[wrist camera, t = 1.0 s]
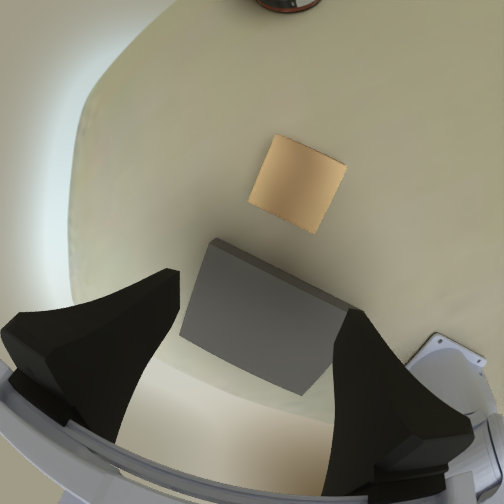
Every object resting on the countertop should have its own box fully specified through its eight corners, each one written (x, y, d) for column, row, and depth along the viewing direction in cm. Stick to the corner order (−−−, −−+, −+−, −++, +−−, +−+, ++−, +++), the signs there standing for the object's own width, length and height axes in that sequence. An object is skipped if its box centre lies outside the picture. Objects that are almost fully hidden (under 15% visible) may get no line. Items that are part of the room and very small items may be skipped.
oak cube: (344, 164, 18) (347, 166, 14) (318, 217, 20) (314, 234, 16) (287, 137, 19) (275, 133, 15) (264, 191, 21) (247, 201, 17)
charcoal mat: (364, 311, 22) (365, 321, 20) (303, 385, 26) (301, 396, 25) (216, 237, 23) (209, 243, 22) (185, 327, 28) (179, 335, 26)
